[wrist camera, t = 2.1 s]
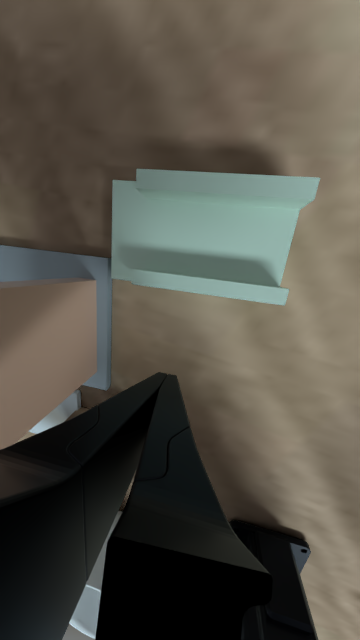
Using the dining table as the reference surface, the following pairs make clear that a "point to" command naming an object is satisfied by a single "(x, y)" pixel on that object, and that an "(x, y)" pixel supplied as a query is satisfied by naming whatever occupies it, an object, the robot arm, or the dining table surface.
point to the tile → (43, 348)
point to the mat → (55, 265)
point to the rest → (207, 231)
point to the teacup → (92, 594)
